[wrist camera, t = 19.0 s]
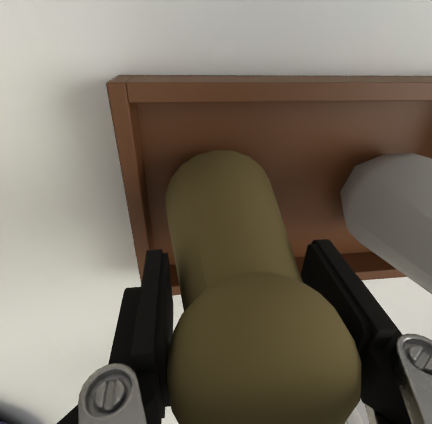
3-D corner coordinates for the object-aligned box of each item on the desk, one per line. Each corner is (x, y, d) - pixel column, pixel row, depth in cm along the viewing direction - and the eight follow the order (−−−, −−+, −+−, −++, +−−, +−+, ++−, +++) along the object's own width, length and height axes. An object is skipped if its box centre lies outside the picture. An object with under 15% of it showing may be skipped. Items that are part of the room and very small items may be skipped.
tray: (477, 76, 16) (530, 82, 13) (397, 250, 22) (423, 275, 20) (117, 74, 14) (105, 82, 11) (147, 267, 20) (143, 297, 18)
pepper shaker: (284, 221, 17) (413, 443, 8) (193, 257, 18) (211, 502, 8) (251, 130, 14) (406, 320, 4) (143, 179, 14) (81, 432, 5)
